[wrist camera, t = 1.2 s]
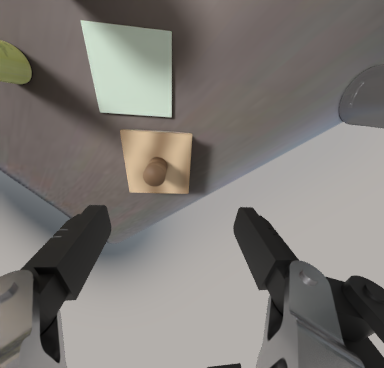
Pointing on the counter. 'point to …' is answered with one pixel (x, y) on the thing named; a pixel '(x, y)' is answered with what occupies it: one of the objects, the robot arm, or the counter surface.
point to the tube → (13, 65)
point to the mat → (130, 68)
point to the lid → (157, 161)
